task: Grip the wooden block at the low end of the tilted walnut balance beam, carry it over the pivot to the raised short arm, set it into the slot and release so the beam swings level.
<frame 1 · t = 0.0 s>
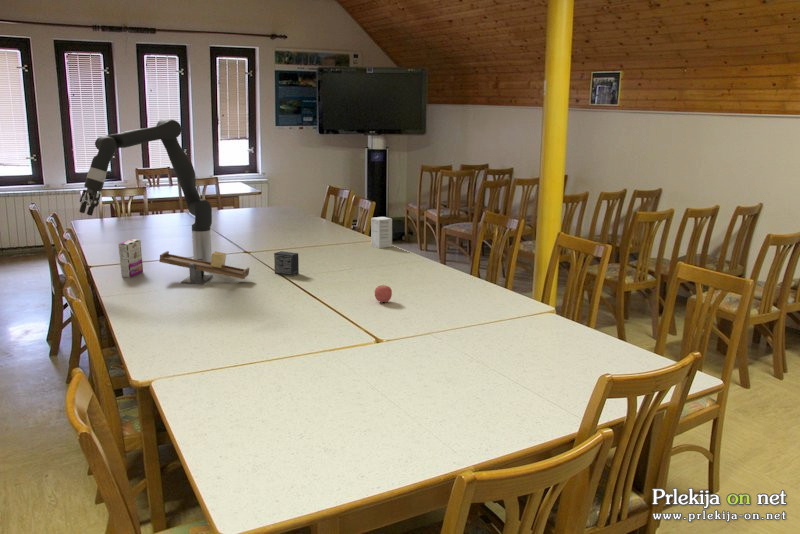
hand: (85, 213, 306), 31 cm above the table, tool tilted 20°, fingers open, 8 cm apart
apple: (383, 302, 291), on the table
beam: (204, 264, 317), point 8 cm above the table, hinge at -9.4°, touching wooden block
small box: (286, 274, 335), on the table
candy bar box: (132, 275, 326), on the table
pivot stand: (197, 280, 319), on the table
wooden block: (217, 267, 317), point 6 cm above the table, tilted 9°, touching beam
supplement box: (381, 246, 401), on the table
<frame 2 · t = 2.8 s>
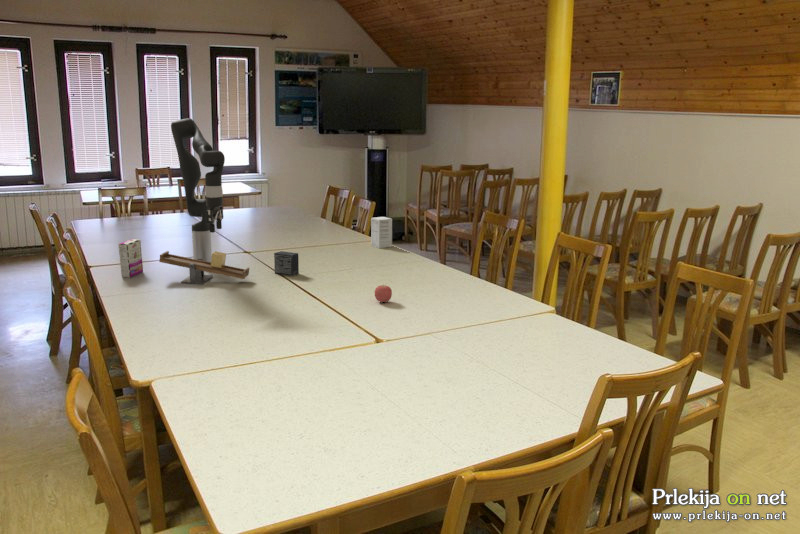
hand: (215, 230, 312), 24 cm above the table, tool pointing down, fingers open, 8 cm apart
nothing on the table moved.
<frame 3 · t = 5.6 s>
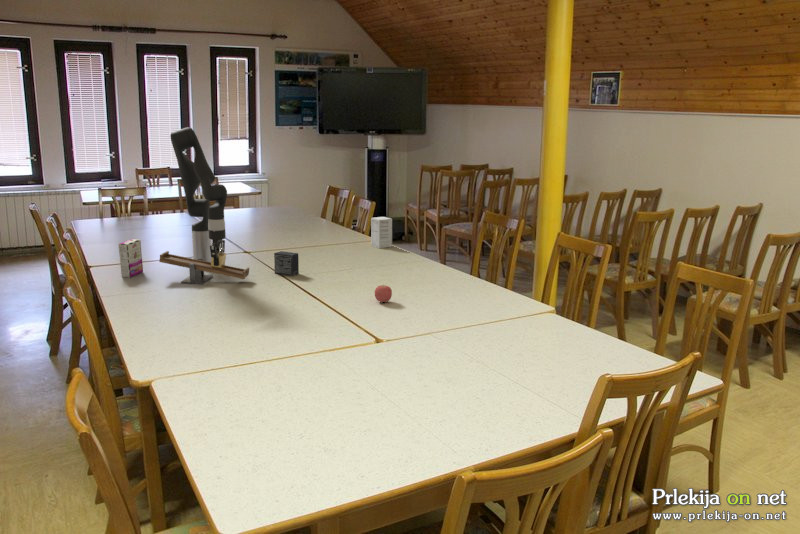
hand: (218, 264, 316), 8 cm above the table, tool pointing down, fingers closed on wooden block, 5 cm apart
wooden block: (217, 267, 317), point 6 cm above the table, tilted 9°, touching beam, gripper
everything else where it was.
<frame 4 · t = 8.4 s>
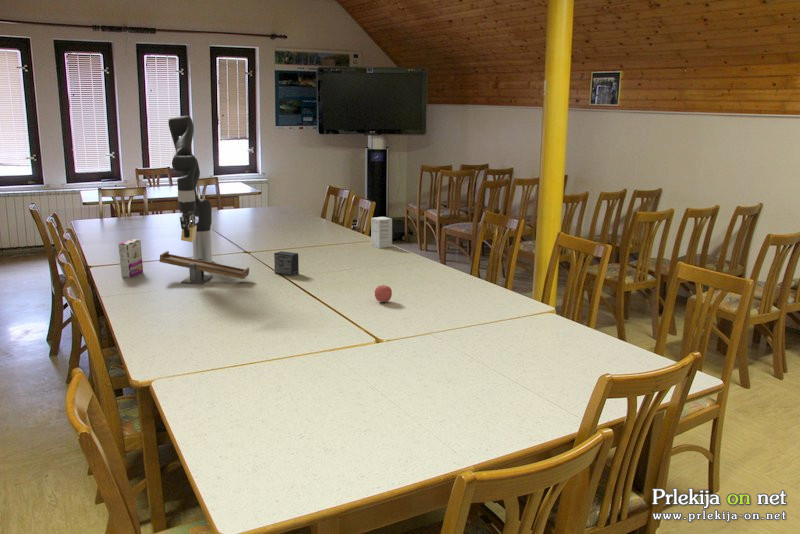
hand: (188, 236, 315), 21 cm above the table, tool pointing down, fingers closed on wooden block, 5 cm apart
beam: (204, 264, 317), point 8 cm above the table, hinge at -9.4°
wooden block: (188, 240, 315), point 19 cm above the table, tilted 9°, touching gripper
everything else where it was.
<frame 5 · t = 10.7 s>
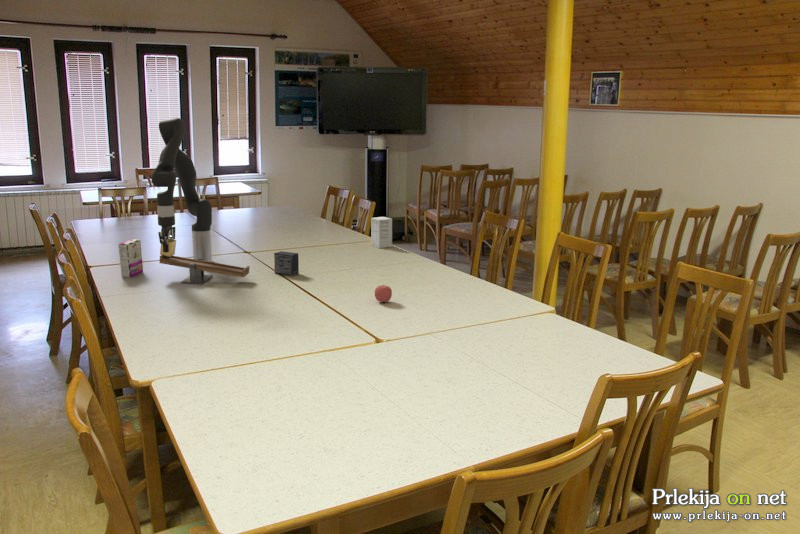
hand: (168, 250, 317), 14 cm above the table, tool pointing down, fingers closed on wooden block, 5 cm apart
beam: (204, 264, 317), point 8 cm above the table, hinge at -7.5°, touching wooden block
wooden block: (167, 254, 317), point 12 cm above the table, tilted 10°, touching beam, gripper
everything else where it was.
when the fingers open (14 cm above the table, at t = 11.3 s): wooden block moves 2 cm and tips over, resting on beam.
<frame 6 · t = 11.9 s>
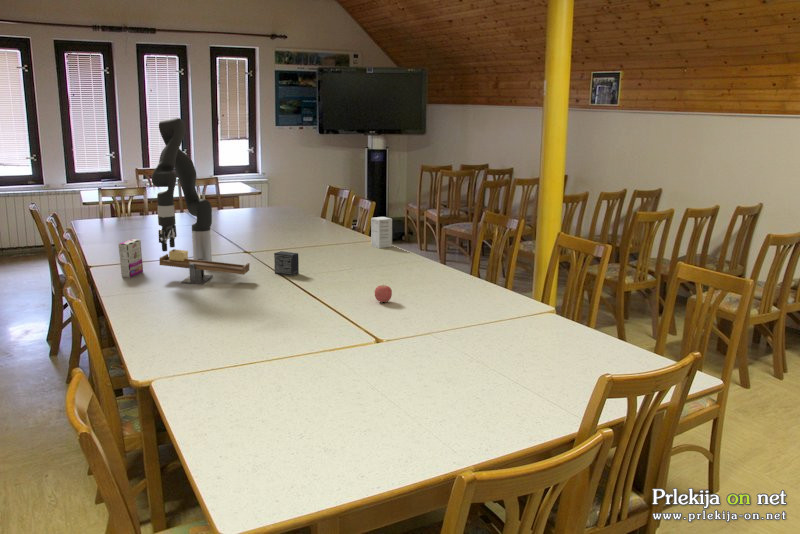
hand: (168, 249, 317), 14 cm above the table, tool pointing down, fingers open, 8 cm apart
beam: (204, 264, 317), point 8 cm above the table, hinge at -4.1°, touching wooden block
wooden block: (171, 255, 317), point 11 cm above the table, tilted 94°, touching beam
everything else where it was.
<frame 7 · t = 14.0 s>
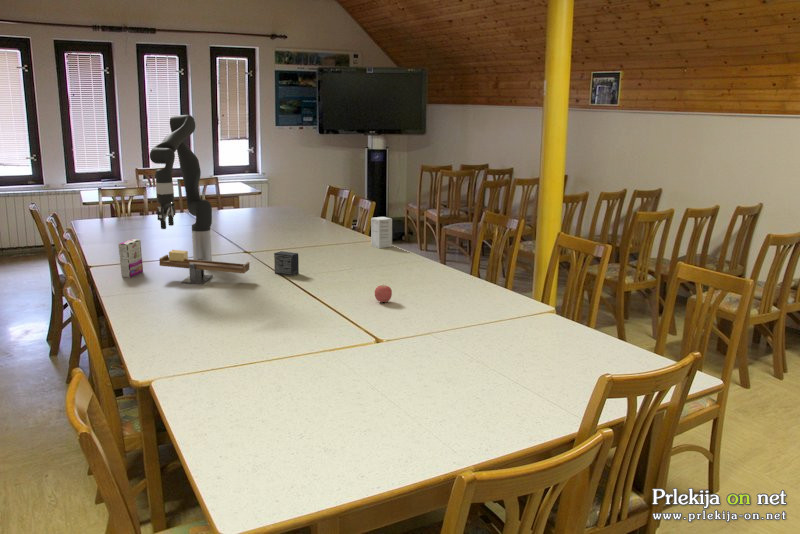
hand: (167, 227, 314), 25 cm above the table, tool pointing down, fingers open, 8 cm apart
beam: (204, 263, 317), point 8 cm above the table, hinge at -3.0°, touching wooden block
everything else where it was.
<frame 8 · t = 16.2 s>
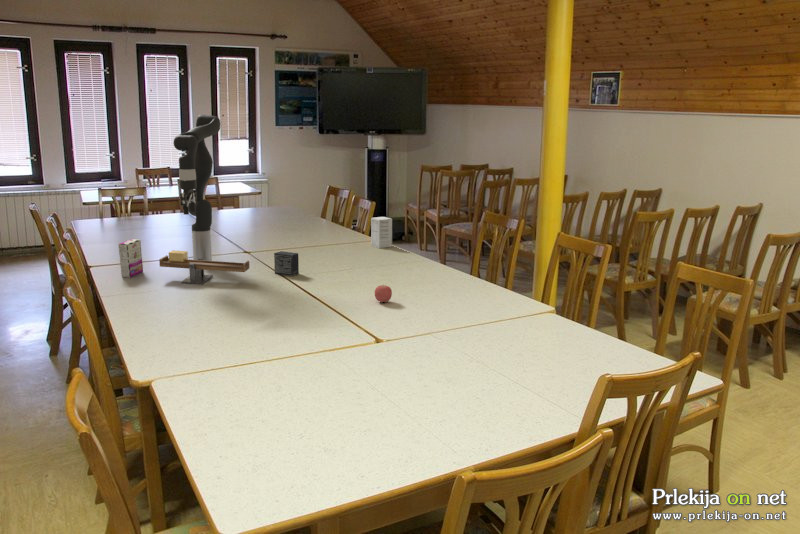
hand: (189, 212, 322), 30 cm above the table, tool pointing down, fingers open, 8 cm apart
beam: (204, 263, 317), point 8 cm above the table, hinge at -1.6°, touching wooden block
everything else where it was.
at the end: beam at -2° (first picture: -9°); wooden block inside the target area (0.6 cm from its centre), point 10.8 cm above the table; the gripper is holding nothing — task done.
